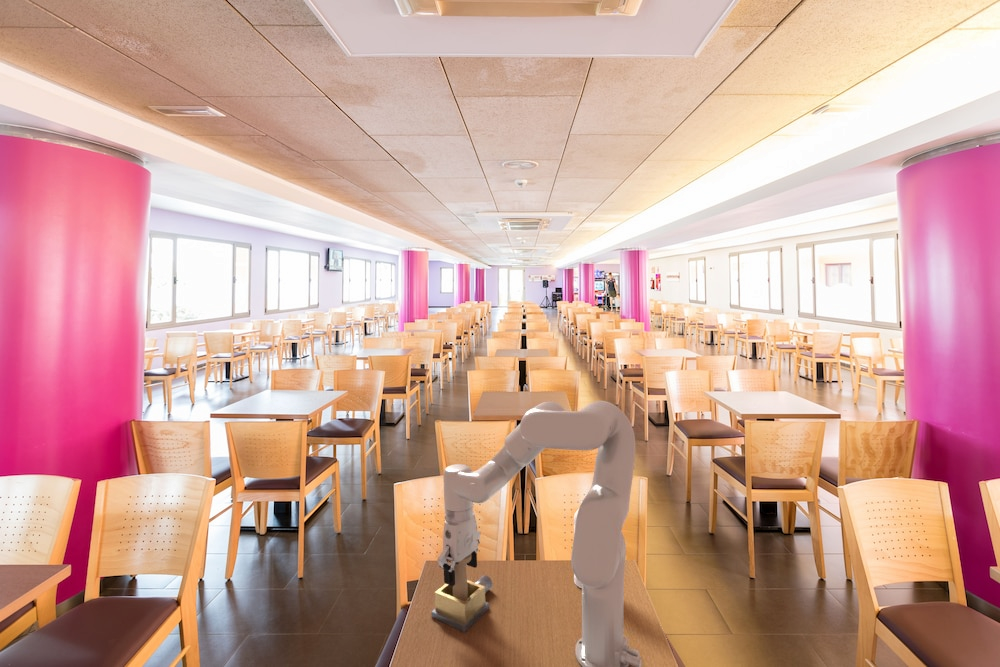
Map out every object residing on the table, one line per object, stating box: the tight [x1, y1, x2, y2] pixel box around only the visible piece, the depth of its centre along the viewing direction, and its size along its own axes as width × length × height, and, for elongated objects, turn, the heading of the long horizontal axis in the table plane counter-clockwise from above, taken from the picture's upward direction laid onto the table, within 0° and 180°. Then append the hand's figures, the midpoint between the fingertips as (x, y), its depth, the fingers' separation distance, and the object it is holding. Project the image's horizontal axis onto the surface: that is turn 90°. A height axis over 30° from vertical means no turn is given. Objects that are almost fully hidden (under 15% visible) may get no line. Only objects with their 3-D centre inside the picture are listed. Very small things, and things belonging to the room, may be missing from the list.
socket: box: [431, 574, 493, 633], centre depth 130 cm, size 11×18×6 cm, turn 147°
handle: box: [448, 554, 471, 601], centre depth 126 cm, size 5×6×15 cm
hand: (461, 574), depth 126 cm, fingers open, 9 cm apart
